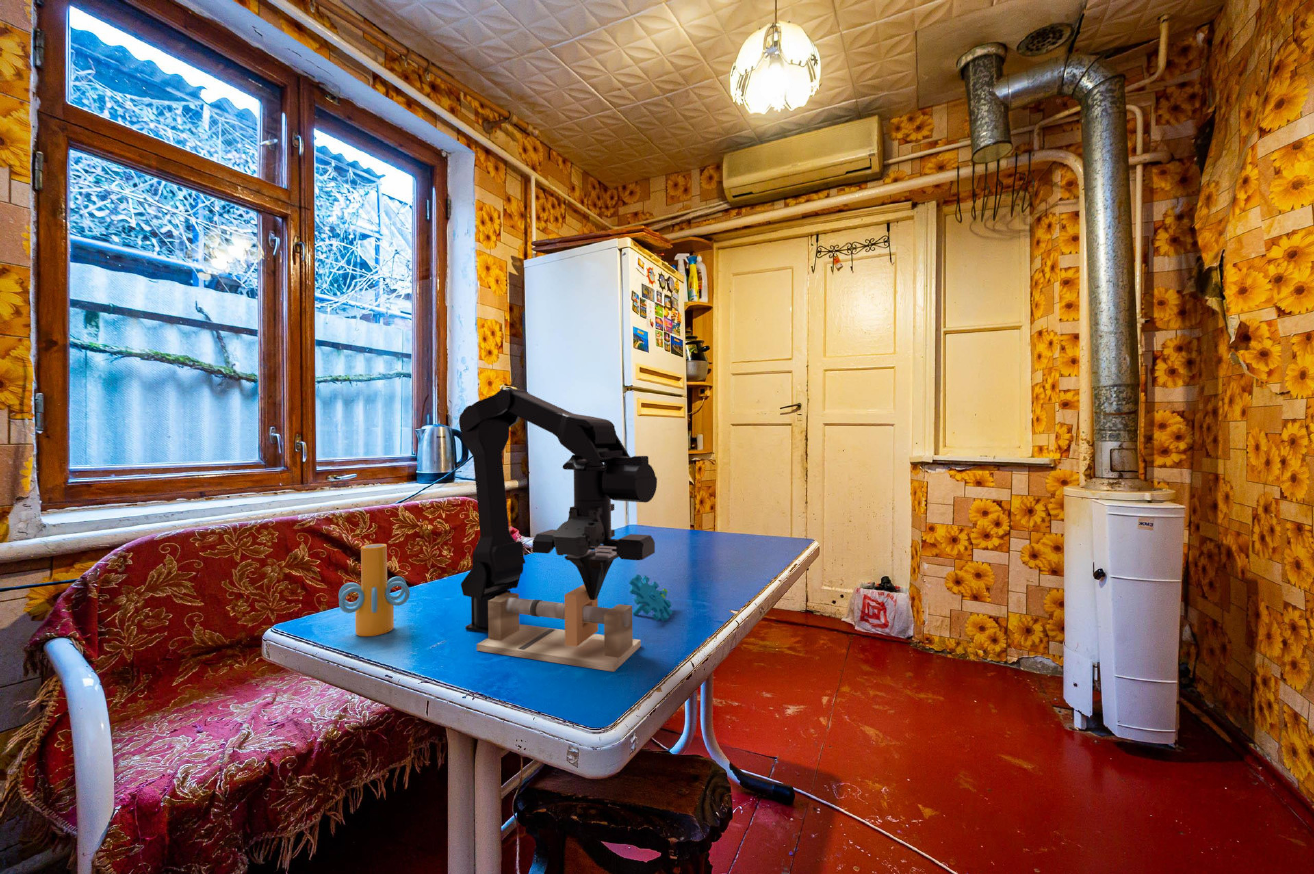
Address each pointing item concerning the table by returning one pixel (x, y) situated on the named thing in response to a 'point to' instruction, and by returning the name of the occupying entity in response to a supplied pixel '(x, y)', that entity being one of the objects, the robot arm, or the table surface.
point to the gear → (650, 598)
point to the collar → (578, 617)
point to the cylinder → (373, 593)
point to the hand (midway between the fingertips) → (593, 599)
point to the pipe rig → (558, 633)
